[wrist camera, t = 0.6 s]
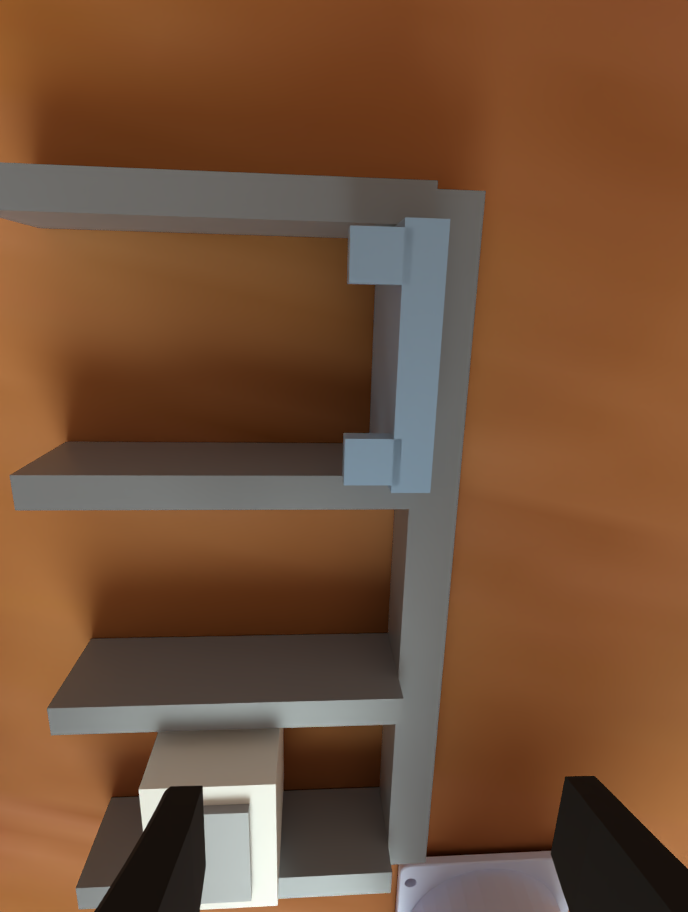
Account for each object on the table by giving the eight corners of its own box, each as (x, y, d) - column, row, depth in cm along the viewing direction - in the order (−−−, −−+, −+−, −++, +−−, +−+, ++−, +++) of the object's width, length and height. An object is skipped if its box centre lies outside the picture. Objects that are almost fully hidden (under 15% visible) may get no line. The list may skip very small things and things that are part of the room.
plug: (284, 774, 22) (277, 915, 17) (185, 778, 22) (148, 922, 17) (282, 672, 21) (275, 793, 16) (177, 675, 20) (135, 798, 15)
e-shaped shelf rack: (413, 804, 23) (441, 937, 18) (113, 816, 22) (60, 959, 17) (459, 206, 16) (522, 168, 12) (34, 190, 15) (-88, 142, 11)
